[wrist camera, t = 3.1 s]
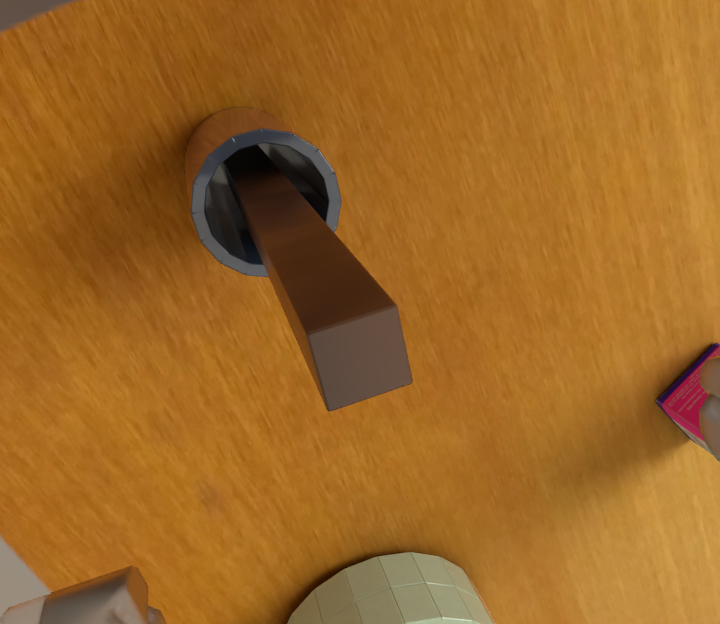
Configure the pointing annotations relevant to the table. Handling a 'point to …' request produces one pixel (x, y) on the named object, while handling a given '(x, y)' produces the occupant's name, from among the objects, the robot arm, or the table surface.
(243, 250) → the stick holder
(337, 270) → the stirring stick
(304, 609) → the bowl
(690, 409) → the supplement box
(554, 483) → the table surface
